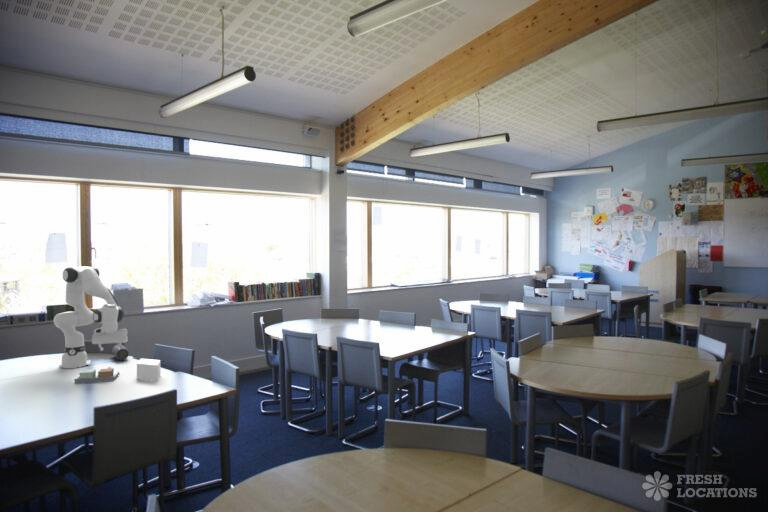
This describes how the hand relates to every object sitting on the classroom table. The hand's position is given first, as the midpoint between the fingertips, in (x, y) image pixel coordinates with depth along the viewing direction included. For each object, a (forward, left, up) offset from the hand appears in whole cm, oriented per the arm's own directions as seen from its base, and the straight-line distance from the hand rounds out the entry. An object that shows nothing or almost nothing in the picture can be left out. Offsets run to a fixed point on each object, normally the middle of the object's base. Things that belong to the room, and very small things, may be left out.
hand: (109, 350), depth 308 cm
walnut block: (+6, 0, -17) cm, 18 cm away
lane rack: (+7, -5, -17) cm, 19 cm away
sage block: (+9, -10, -17) cm, 22 cm away
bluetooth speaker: (-54, -4, -17) cm, 57 cm away
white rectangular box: (+12, +25, -17) cm, 33 cm away
